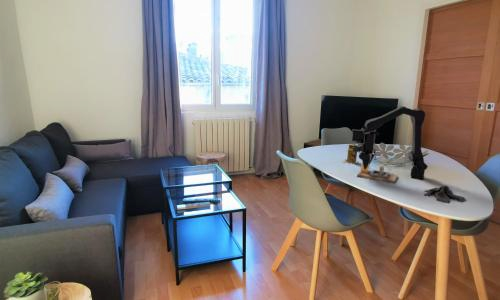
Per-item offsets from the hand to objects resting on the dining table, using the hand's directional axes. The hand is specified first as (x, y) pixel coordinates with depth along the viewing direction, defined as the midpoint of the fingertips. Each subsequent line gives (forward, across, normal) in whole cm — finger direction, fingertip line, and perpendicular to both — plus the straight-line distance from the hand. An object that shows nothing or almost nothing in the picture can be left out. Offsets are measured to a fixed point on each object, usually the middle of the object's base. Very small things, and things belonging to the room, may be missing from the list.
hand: (366, 167), depth 181 cm
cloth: (+5, +13, +38) cm, 41 cm away
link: (+3, 0, +5) cm, 6 cm away
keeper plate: (+4, 0, +6) cm, 8 cm away
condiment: (+5, -24, -16) cm, 29 cm away
